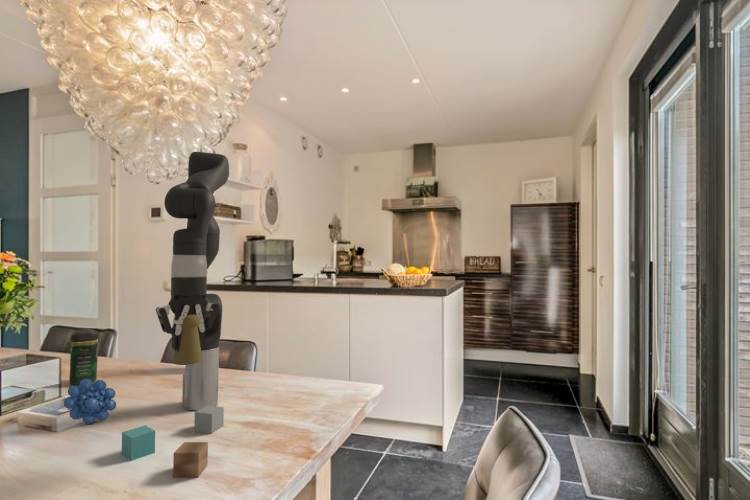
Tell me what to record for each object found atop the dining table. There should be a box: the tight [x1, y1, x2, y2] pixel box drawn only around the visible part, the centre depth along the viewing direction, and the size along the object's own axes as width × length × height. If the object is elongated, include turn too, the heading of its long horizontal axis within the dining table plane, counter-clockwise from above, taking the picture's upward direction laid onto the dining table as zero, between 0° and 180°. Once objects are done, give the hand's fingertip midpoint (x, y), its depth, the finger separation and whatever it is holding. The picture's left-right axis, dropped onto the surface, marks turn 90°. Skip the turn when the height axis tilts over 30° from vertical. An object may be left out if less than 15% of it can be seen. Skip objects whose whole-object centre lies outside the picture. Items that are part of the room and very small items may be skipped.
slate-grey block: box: [193, 405, 225, 434], centre depth 108 cm, size 5×5×5 cm
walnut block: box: [172, 441, 209, 479], centre depth 87 cm, size 5×5×5 cm
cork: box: [173, 314, 202, 366], centre depth 96 cm, size 6×6×11 cm
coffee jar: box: [69, 328, 99, 387], centre depth 147 cm, size 10×8×19 cm
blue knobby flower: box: [63, 379, 117, 425], centre depth 110 cm, size 12×7×12 cm, turn 128°
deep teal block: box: [121, 425, 156, 462], centre depth 94 cm, size 5×5×5 cm
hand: (187, 349), depth 96 cm, fingers closed on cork, 4 cm apart
